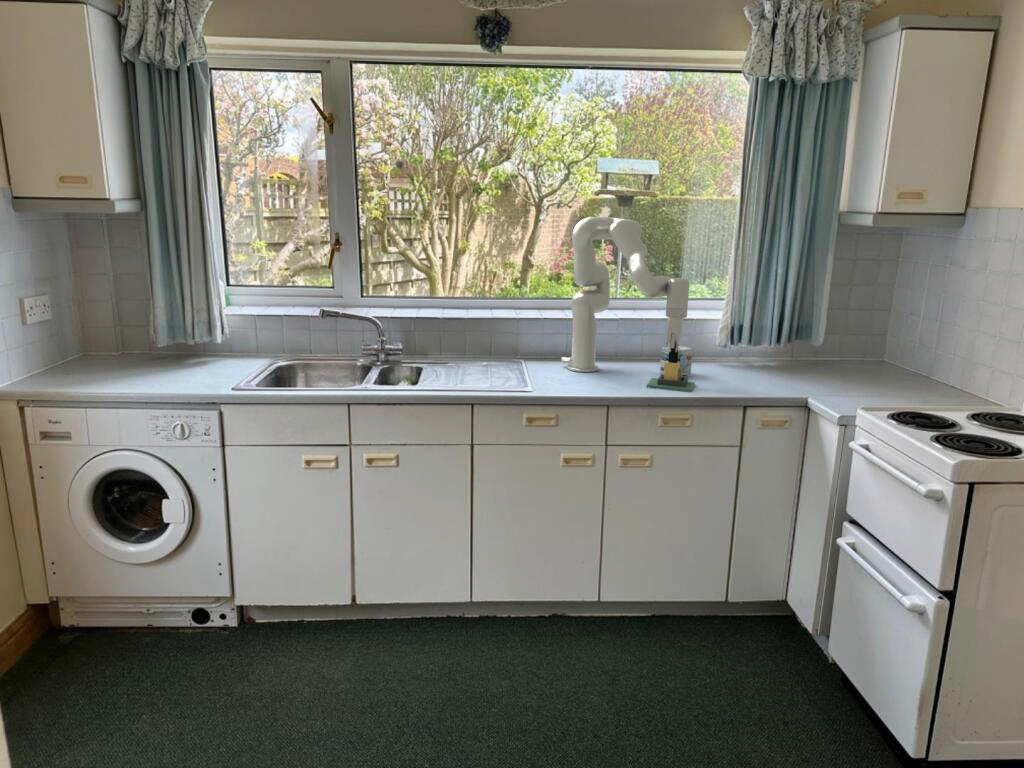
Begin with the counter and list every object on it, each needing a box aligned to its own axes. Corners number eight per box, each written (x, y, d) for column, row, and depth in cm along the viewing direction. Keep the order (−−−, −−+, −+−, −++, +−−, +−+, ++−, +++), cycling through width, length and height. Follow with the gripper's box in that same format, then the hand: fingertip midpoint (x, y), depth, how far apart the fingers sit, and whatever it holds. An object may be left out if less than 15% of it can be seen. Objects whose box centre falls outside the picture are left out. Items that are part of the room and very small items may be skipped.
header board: (646, 387, 266) (647, 379, 266) (651, 380, 277) (652, 372, 277) (691, 392, 261) (691, 383, 260) (694, 384, 272) (695, 376, 271)
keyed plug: (663, 383, 268) (664, 362, 266) (664, 381, 272) (666, 360, 270) (679, 385, 266) (681, 364, 264) (681, 383, 270) (682, 362, 268)
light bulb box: (668, 377, 283) (670, 350, 280) (658, 373, 289) (660, 346, 286) (691, 375, 287) (693, 348, 284) (681, 371, 293) (683, 345, 290)
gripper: (668, 309, 271) (665, 357, 275) (663, 314, 257) (659, 365, 261) (689, 310, 268) (685, 359, 273) (684, 316, 255) (680, 367, 259)
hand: (672, 362), depth 267 cm, fingers closed
